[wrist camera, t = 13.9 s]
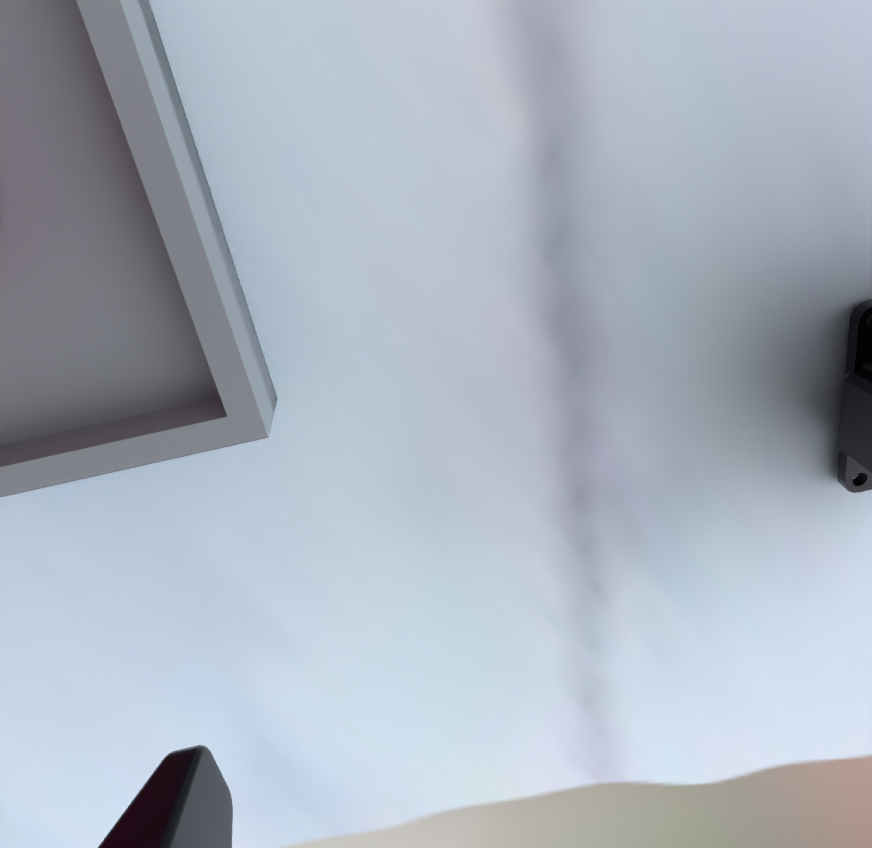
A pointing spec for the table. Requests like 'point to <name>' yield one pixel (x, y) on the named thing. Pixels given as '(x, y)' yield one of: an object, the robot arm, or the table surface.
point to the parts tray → (110, 258)
